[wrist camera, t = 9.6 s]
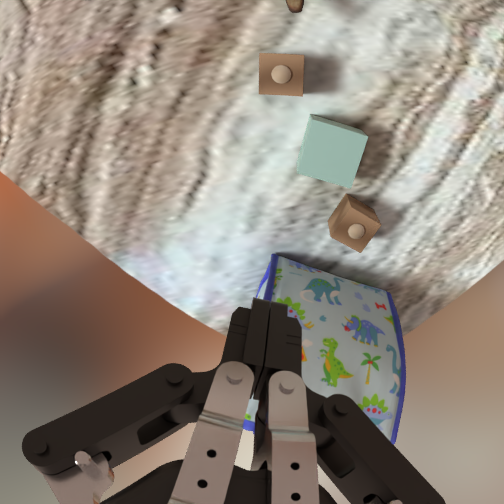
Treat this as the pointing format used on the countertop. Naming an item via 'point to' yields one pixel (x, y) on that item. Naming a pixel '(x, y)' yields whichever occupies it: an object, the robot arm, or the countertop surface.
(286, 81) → the dotted cube
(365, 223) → the dotted cube
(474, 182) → the countertop surface
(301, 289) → the lunch bag
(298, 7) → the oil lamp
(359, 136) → the plain block
